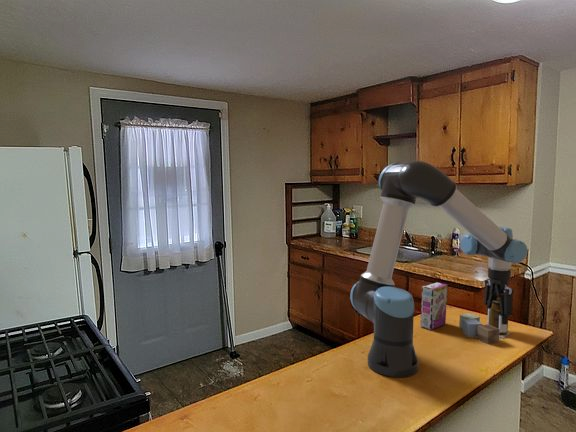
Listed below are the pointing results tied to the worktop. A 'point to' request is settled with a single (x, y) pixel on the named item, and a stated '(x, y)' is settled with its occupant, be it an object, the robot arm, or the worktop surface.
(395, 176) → the robot arm
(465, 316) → the sage block
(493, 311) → the condiment
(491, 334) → the walnut block
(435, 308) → the candy bar box
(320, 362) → the worktop surface
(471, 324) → the slate block
